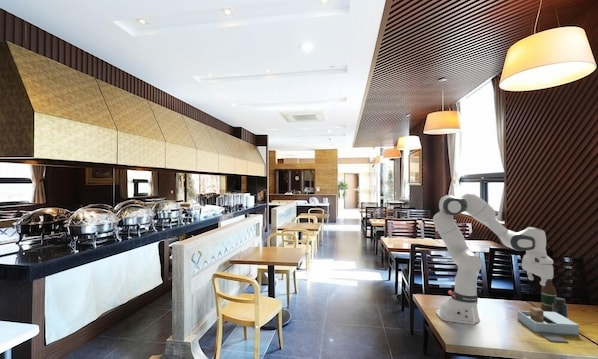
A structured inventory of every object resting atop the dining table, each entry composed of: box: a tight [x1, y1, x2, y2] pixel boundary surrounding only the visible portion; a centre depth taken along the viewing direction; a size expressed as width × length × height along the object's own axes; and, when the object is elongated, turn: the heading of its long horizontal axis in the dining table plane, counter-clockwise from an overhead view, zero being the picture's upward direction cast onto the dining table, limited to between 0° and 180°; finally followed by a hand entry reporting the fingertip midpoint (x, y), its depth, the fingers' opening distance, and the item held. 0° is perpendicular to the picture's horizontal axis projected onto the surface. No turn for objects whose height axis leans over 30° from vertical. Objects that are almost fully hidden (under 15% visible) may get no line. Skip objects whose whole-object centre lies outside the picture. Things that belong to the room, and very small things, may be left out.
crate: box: [516, 310, 580, 337], centre depth 161 cm, size 20×16×6 cm
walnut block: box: [529, 307, 544, 322], centre depth 162 cm, size 4×4×6 cm
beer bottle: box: [540, 278, 557, 312], centre depth 183 cm, size 8×8×24 cm
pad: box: [538, 333, 569, 344], centre depth 149 cm, size 8×8×1 cm
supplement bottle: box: [552, 296, 569, 319], centre depth 171 cm, size 7×7×12 cm
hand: (536, 282), depth 162 cm, fingers open, 8 cm apart
